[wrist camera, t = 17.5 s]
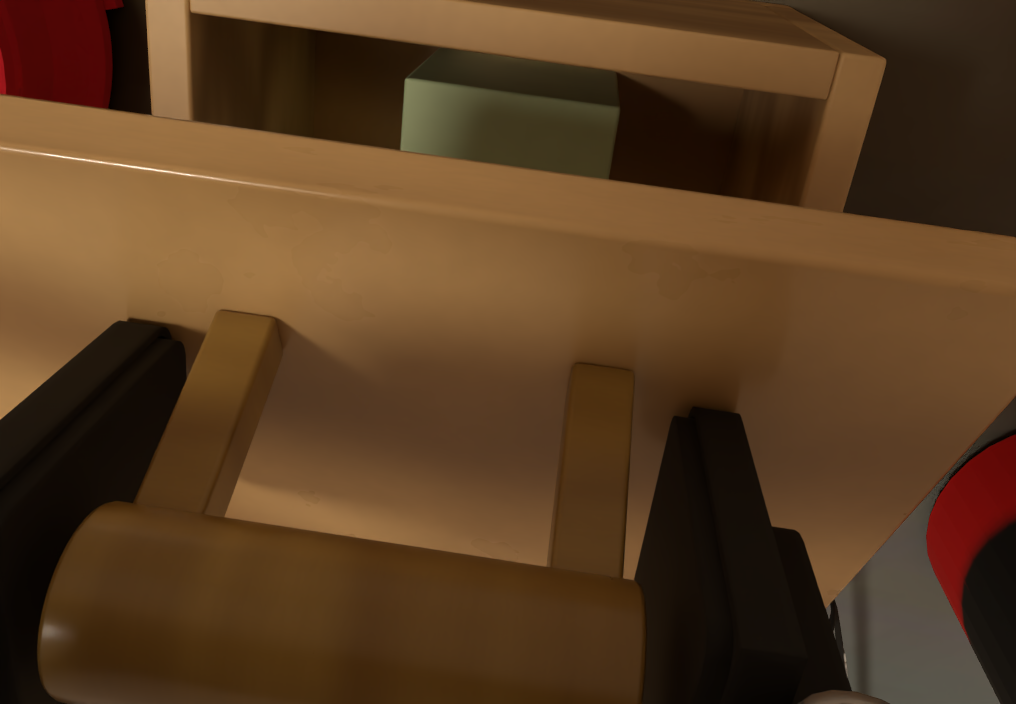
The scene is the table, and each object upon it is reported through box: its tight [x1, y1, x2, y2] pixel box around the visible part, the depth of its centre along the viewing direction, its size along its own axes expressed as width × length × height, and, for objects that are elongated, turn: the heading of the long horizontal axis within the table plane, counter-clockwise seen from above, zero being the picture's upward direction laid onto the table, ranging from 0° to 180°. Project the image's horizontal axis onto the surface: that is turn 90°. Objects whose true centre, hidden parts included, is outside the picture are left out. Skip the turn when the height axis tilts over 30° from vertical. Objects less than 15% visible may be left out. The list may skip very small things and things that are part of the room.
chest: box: [145, 0, 886, 213], centre depth 23 cm, size 16×13×9 cm
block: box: [400, 48, 620, 180], centre depth 22 cm, size 5×5×5 cm
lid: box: [0, 94, 1016, 704], centre depth 14 cm, size 16×13×5 cm
